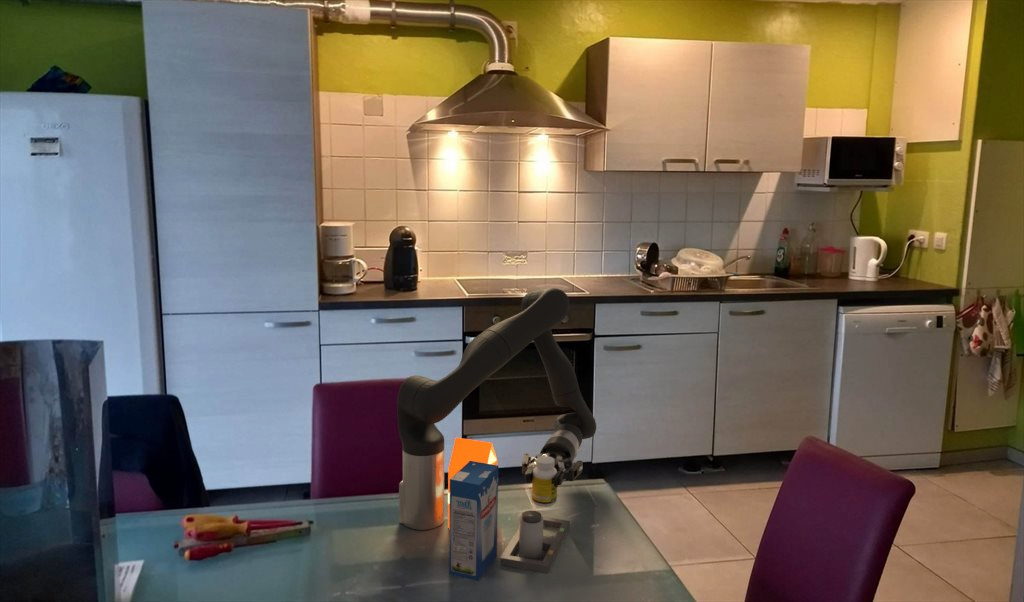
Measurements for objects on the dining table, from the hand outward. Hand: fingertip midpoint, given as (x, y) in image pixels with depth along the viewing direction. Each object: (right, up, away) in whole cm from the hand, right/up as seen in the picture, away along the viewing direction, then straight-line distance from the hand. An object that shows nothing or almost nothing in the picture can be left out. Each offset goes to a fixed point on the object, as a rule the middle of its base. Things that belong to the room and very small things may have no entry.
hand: (542, 480), depth 159 cm
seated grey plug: (-3, -15, -5) cm, 15 cm away
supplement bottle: (+1, -6, +4) cm, 7 cm away
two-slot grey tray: (-1, -14, 0) cm, 14 cm away
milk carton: (-14, -15, -8) cm, 22 cm away
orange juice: (-15, -12, +8) cm, 21 cm away
